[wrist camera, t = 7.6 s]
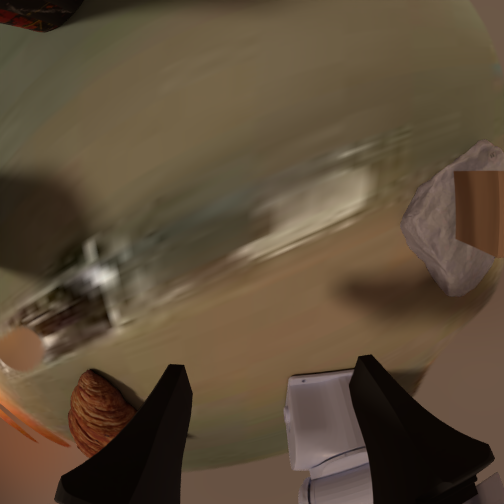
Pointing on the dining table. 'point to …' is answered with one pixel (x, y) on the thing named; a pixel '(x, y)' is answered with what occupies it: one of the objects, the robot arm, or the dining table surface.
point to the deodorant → (37, 13)
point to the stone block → (449, 224)
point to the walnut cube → (480, 210)
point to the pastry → (97, 413)
